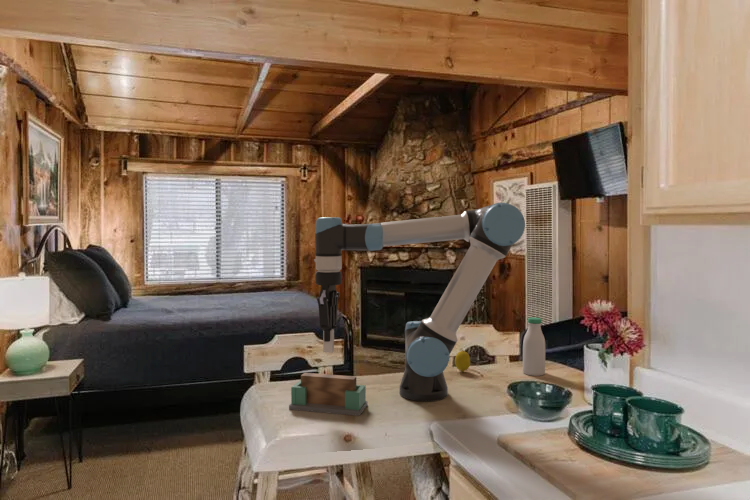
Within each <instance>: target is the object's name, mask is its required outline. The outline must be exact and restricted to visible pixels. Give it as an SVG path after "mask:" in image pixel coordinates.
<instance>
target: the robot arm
mask: <svg viewBox="0 0 750 500" xmlns="http://www.w3.org/2000/svg"><path fill="white" fill-rule="evenodd" d="M525 229H526V220H525V218H524V215H523V213H522V211H521V210H520V209H519V208H518V207H516V206H515V205H513V204H512V203H511V204H510V203H508V202H497V203H493V204H489V205H486V206H483V207H480V208H477V209H470V210H464V211H463V212H462V213H461V214H454V215H445V216H436V217H423V218H416V219H415V218H414V219H413V218H412V219H407V220H406V219H405V220H396V221H385V222H384V221H383V222H375V223H363V224H362V223H360V224H359V223H357V224H355V223H354V224H347V223H343V221H342V218H341V217H337V216H336V217H334V216H331V217H329V216H327V217H323V216H322V217H318V218H317V219H316V221H315V231H314V232H315V233H314V237H315V241H314V245H315V258H314V259H313V261H314V263H315V270H317V271H316V272H315V284H316V285H318V286H321V287H320V293H319V296H317V299H316V301H317V305H318V316H319V330H320V331H323V332H322V337H323V338H322V340H323V341H322V344H323V345H322V347H323V348H322V349H323V350H322V352H323V353H334V351H335V329H338V326H337V324H338V323H337V322H338V321H337V320H338V308H339V307H338V306H339V297H340V292H338V290H337V286H340V285H341V284H342V282H343V281H342V277H343V276H342V274H343V273H342V271H340V270H342V268H343V266H342V265H343V263H342V262H343V261H342V260H343V259H342V258H343V257H342V251H370V252H373V251H381V250H382V249H383V248H384V247H391V246H392V247H394V246H402V245H403V246H405V245H413V244H414V245H415V244H423V243H436V242H445V241H446V242H447V241H457V240H464V241H466V242H468V243H470V246H469V248H468V249H467V251H466V253H465V255H464V256H463V258H462V260H461V262H460V264H459V266H458V267H457V269H456V270H455V272H454V274H453V276H452V277H451V279H450V281H449V282H448V284H447V287H446V288H445V290H444V292H443V293H442V295H441V297H440V299H439V301H438V303H437V304H436V306H435V307H434V309H433V311H432V313H431V315H430V316H429V317H427V318H424V319H422V320H419V321H418V320H413V321H407V322H406V323H405V329H404V333H405V334H404V336H405V339H404V340H405V343H404V344H405V348H404V349H405V350H404V352H405V356H404V357H405V358H404V360H405V363H404V364H405V367H404V372H403V375H402V377H401V378H402V379H401V381H400V384H399V395H400V396H401V397H402V398H405V399H407V400H410V401H417V402H436V401H440V400H444V399H446V398H447V396H448V395H449V394H448V393H449V391H448V384H447V382H446V377H445V375H444V372H445V370H446V369H447V367H448V366H449V362H450V357H451V356H450V355H451V353H452V351H453V350H454V347H456V344H457V342H458V338H457V331H458V330H459V328H460V326H461V325H462V323H463V321H464V320H465V318H466V316H467V314H468V313H469V311H470V309H471V307H472V305H473V303H474V301H475V300H476V299H477V297H478V295H479V293H480V292H481V290H482V288H483V286H484V285H485V283H486V281H487V279H488V277H489V275H490V274H491V272H492V270H493V268H494V267H495V265H496V264H497V262H498V261H499V260H501V259H504V258H506V257H507V256H508V254H509V252H510V250H511V249H512V247H513V245H514V244H516V243H517V242H519V240H520V239H521V238H522V237H523V235H524V232H525Z"/></svg>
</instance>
